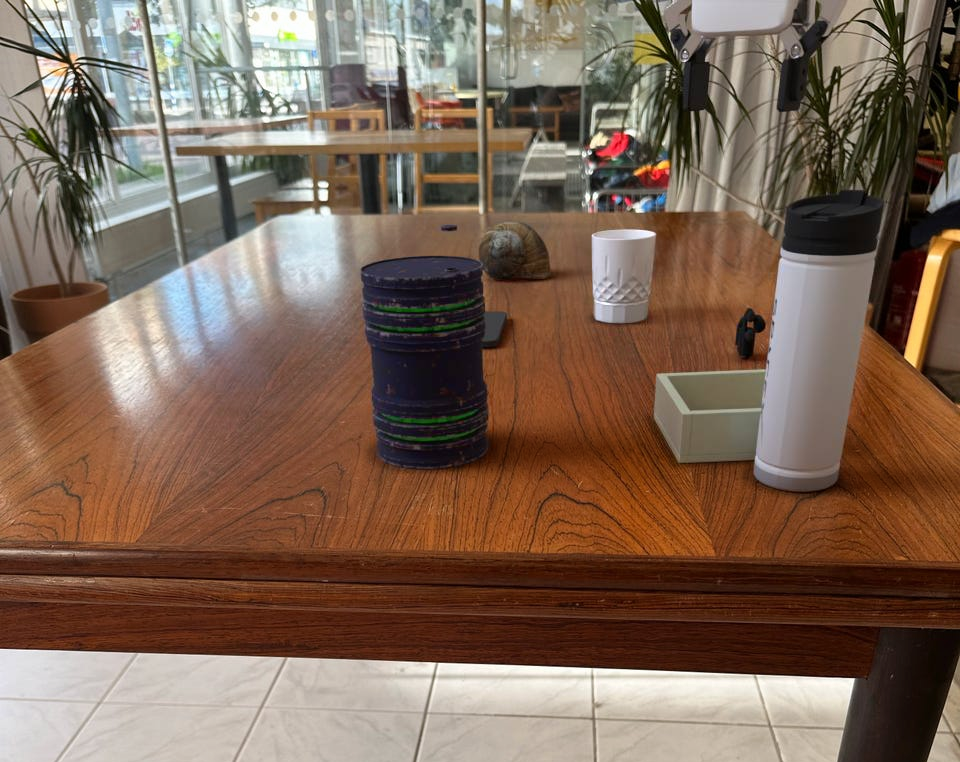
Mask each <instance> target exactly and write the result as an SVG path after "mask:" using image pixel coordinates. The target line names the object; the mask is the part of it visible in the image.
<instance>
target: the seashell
mask: <svg viewBox="0 0 960 762" xmlns="http://www.w3.org/2000/svg"><path fill="white" fill-rule="evenodd" d="M478 260H479V261H480V262H482V264H483V273H485V274H486V275H487V276H488V277H490V278H491V279H494V280H498V281H507V280H511V279H516V278H519V279H521V278H522V279H523V278H524V279H537V280H542V279H543V280H544V279H547V278H549V277H550V276H552V275H553V272H552V269H551V264H550V256H549V250H548V248H547V246H546V243H545V241H544V240H543V239H542V237H541V236H540V234H539V233H538V232H537V231H536V230H535V229H534V228H533V227H532V226H530V225H529V224H527V223H524V222H521V221H519V220H509V221H503V222H499V223H497V224H496V225H494V226H492V227H490V228H489V229H488V230H487V231H486V232H485V233H484V235H483V236H482V238H481V240H480V242H479V245H478Z"/></svg>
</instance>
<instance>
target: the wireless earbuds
mask: <svg viewBox="0 0 960 762" xmlns="http://www.w3.org/2000/svg"><path fill="white" fill-rule="evenodd" d="M748 323H749V324H751V323H752V326H748ZM766 327H767V323H766V320H765V319H764V318H763V316H761V315H760V314H756V312H754V310H753V308H751V307H747V308H746V309H745V312H744V313H743V316H742V317H740V318H739V320H738V322H737V325H736V330H735V340H734V346H736V351H737V353H738V355H739V357H740V358H741V359H743V360H750V359H751V358H752V357H753V355H754V350H755V342H756V334H761V333H762V332H763V331H764V330H765V329H766Z"/></svg>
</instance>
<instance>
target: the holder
mask: <svg viewBox="0 0 960 762" xmlns="http://www.w3.org/2000/svg"><path fill="white" fill-rule="evenodd" d="M765 374H766V368H765V369H764V368H763V369H739V370H738V369H737V370H715V371H713V370H712V371H695V372H694V371H693V372H692V371H691V372H690V371H689V372H688V371H687V372H668V373H656V375H655V390H654V391H655V392H654V407H653V419H654V421H655V423H656V425H657V426H658V428H659V430H660V432H661V434H662V435H663V437H664V439H665V441H666V443H667V444H668V446H669V448H670V450H671V452H672V453H673V455H674V457H675V459H676V460H677V463H678V464H689V463H692V464H693V463H714V462H715V463H716V462H732V461H733V462H737V461H738V462H739V461H755V456H756V447H757V439H758V431H759V422H760V414H761V406H762V398H763V390H764V382H765Z"/></svg>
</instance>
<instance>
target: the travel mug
mask: <svg viewBox="0 0 960 762" xmlns="http://www.w3.org/2000/svg"><path fill="white" fill-rule="evenodd" d="M869 192H870V191H869V190H868V189H867V190H866V189H848V188H847V189H846V188H843V189H840V190H839V192H838V193H830V194H820V195H814V196H808V197H804V198H801V199H798V200H795V201H792V202H791V203H790V204H788V205H787V207H786V210H785V218H784V227H783V233H784V236H783V238H782V243H781V246H780V251H779V253H780V256H781V258H779V261H778V268H777V277H776V285H775V294H774V301H773V309H772V317H771V325H770V332H769V333H770V334H769V343H768V350H767V358H766V367H765V369H766V374H765V382H764V390H763V398H762V406H761V414H760V422H759V431H758V439H757V447H756V456H755V460H754V465H753V476H754V477H755V479H756V480H757V481H758V482H759V483H761V484H763V485H764V486H767V487H769V488H773V489H776V490H781V491H784V492H785V491H786V492H793V493H809V492H810V493H811V492H817V491H822V490H825V489H828V488H830V487H831V486H833V485H834V484H835V483H836V482H837V481H838V479H839V472H840V467H841V459H842V455H843V449H844V445H845V444H844V443H845V437H846V431H847V426H848V422H849V421H848V420H849V414H850V410H851V402H852V397H853V391H854V385H855V381H856V374H857V369H858V368H857V367H858V364H859V357H860V351H861V345H862V339H863V334H864V328H865V323H866V317H867V311H868V306H869V299H870V293H871V287H872V282H873V277H874V270H875V264H876V260H875V258H876V256H877V253H878V252H877V251H878V242H879V239H878V235H879V233H880V231H881V230H880V229H881V224H882V218H883V212H884V207H885V202H884V200H883V199H881V197H878V196H873V195H869Z"/></svg>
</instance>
